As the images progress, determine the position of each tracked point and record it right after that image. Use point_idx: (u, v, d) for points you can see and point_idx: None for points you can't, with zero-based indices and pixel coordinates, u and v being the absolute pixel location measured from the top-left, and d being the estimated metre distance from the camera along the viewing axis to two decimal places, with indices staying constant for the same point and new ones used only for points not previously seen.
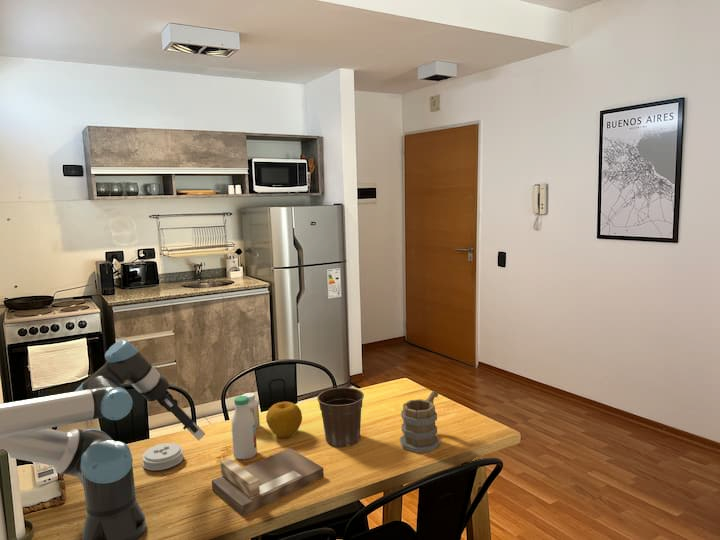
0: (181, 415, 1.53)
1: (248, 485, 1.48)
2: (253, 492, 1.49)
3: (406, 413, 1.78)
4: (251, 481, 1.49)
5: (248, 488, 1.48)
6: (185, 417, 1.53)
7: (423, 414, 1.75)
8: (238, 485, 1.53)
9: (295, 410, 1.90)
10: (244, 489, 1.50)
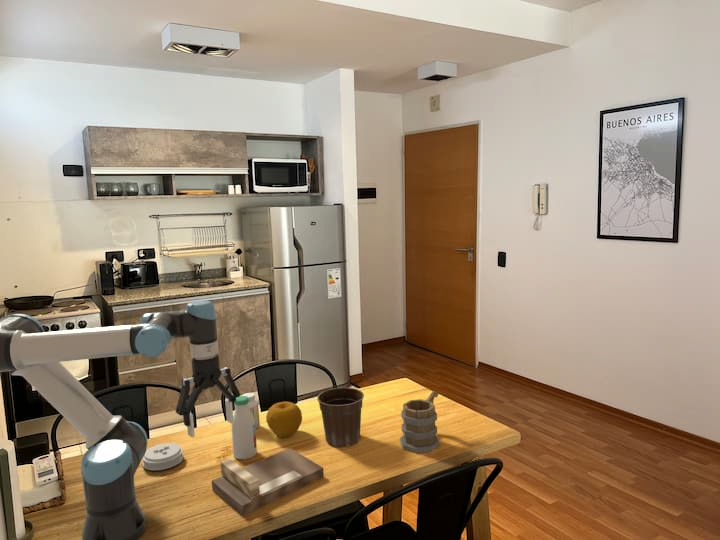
0: (181, 400, 1.46)
1: (248, 485, 1.48)
2: (253, 492, 1.49)
3: (406, 413, 1.78)
4: (251, 481, 1.49)
5: (248, 488, 1.48)
6: (180, 404, 1.46)
7: (423, 414, 1.75)
8: (238, 485, 1.53)
9: (296, 410, 1.90)
10: (244, 489, 1.50)
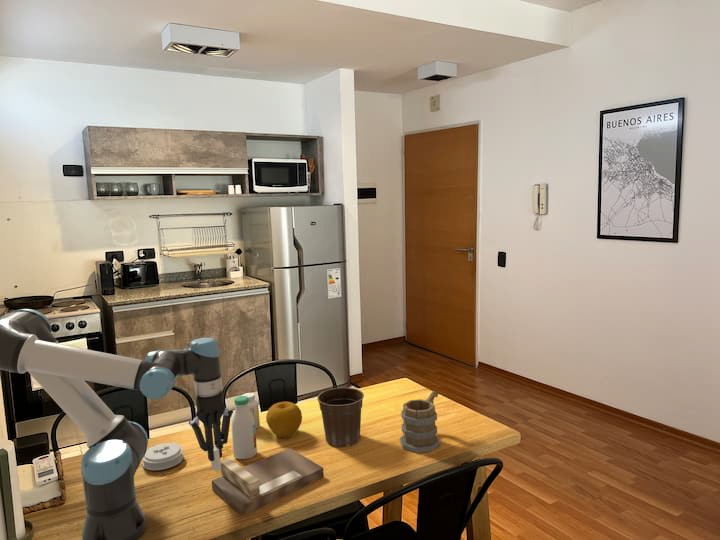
0: (198, 439, 1.50)
1: (248, 485, 1.48)
2: (253, 492, 1.49)
3: (406, 413, 1.78)
4: (251, 481, 1.49)
5: (248, 488, 1.48)
6: (200, 443, 1.50)
7: (423, 414, 1.75)
8: (238, 485, 1.53)
9: (295, 410, 1.90)
10: (244, 489, 1.50)
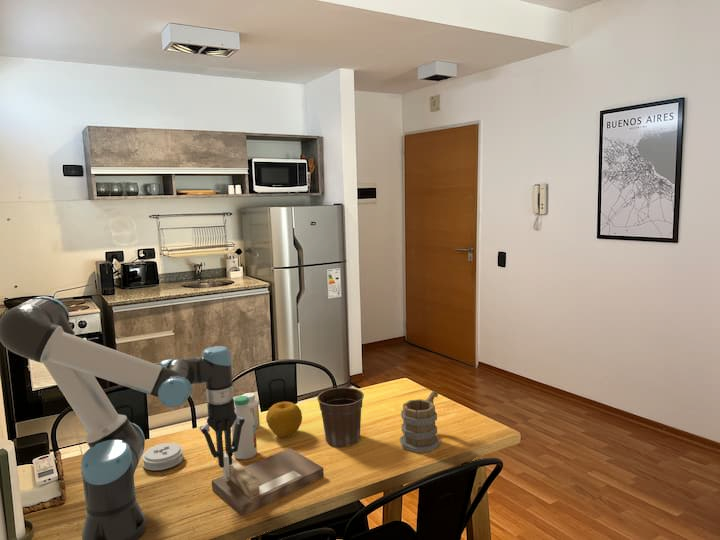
0: (208, 445, 1.53)
1: (248, 485, 1.48)
2: (253, 492, 1.49)
3: (406, 413, 1.78)
4: (251, 481, 1.49)
5: (248, 488, 1.48)
6: (210, 449, 1.53)
7: (423, 414, 1.75)
8: (239, 485, 1.53)
9: (296, 410, 1.90)
10: (245, 489, 1.50)
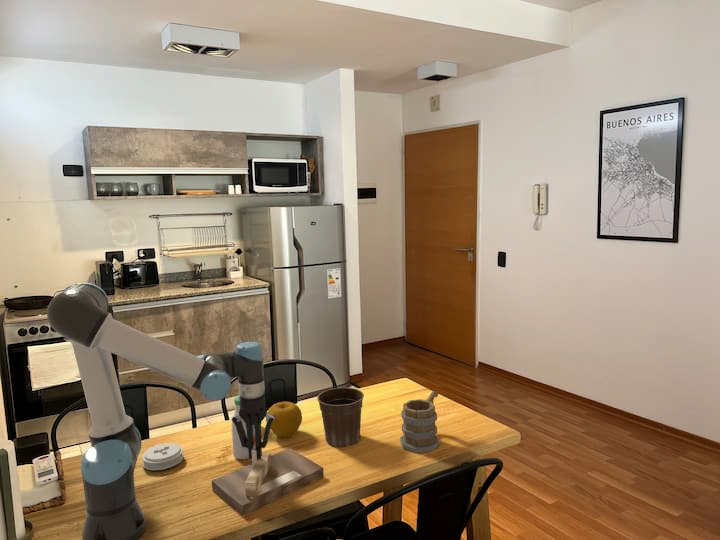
0: None
1: None
2: (249, 492, 1.49)
3: (406, 413, 1.78)
4: (249, 481, 1.49)
5: None
6: None
7: (423, 414, 1.75)
8: None
9: (295, 410, 1.90)
10: None
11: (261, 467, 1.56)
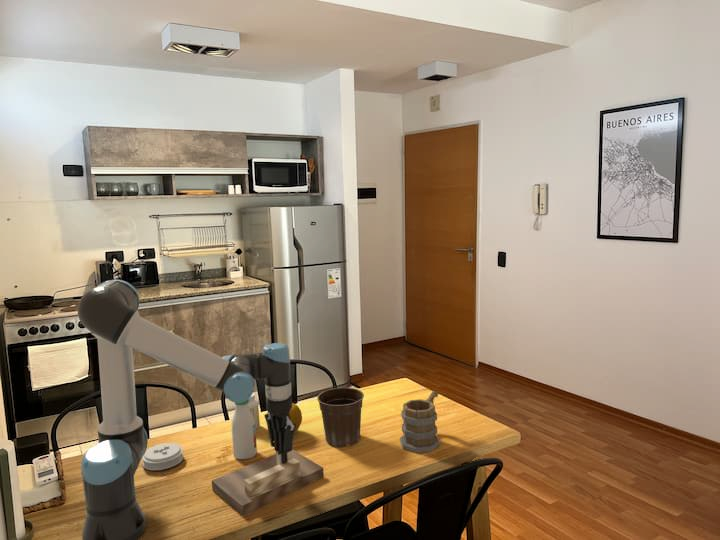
0: None
1: None
2: (246, 491, 1.49)
3: (406, 413, 1.78)
4: (248, 480, 1.49)
5: None
6: None
7: (423, 414, 1.75)
8: None
9: (295, 410, 1.90)
10: None
11: (273, 472, 1.53)
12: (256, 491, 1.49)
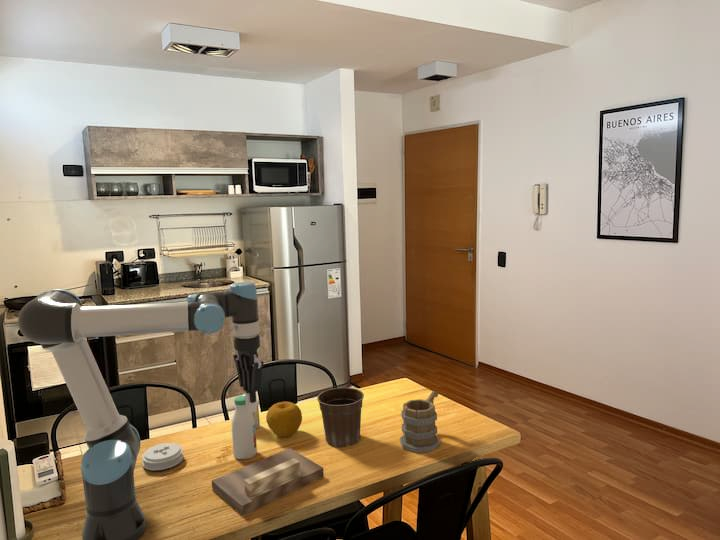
0: None
1: None
2: (246, 491, 1.49)
3: (406, 413, 1.78)
4: (248, 480, 1.49)
5: None
6: None
7: (423, 414, 1.75)
8: None
9: (295, 410, 1.90)
10: None
11: (273, 472, 1.53)
12: (256, 491, 1.49)
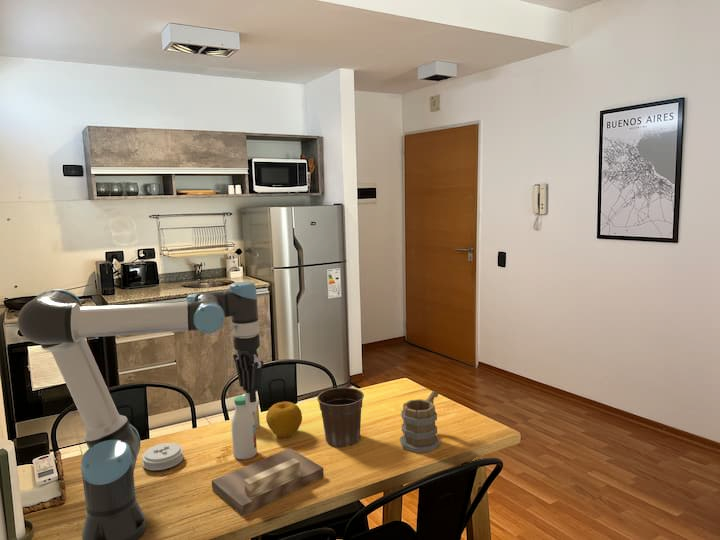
0: None
1: None
2: (246, 491, 1.49)
3: (406, 413, 1.78)
4: (248, 480, 1.49)
5: None
6: None
7: (423, 414, 1.75)
8: None
9: (295, 410, 1.90)
10: None
11: (273, 472, 1.53)
12: (256, 491, 1.49)
